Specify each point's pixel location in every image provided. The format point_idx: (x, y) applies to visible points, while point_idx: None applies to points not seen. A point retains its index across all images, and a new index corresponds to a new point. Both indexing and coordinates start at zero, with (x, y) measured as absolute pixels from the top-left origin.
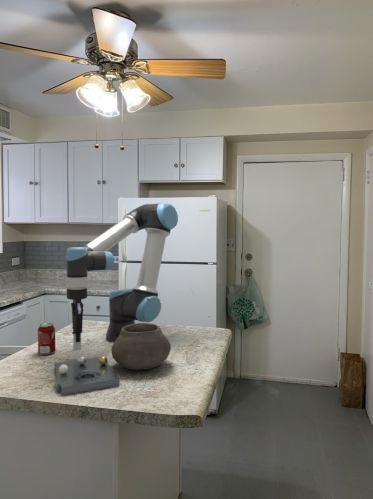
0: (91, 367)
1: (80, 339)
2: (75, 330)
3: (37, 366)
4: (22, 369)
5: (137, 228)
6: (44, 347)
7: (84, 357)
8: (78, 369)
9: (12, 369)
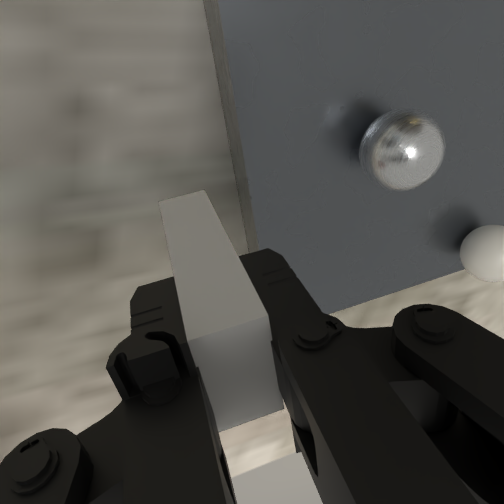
0: (471, 55)
1: (234, 258)
2: (470, 429)
3: None
4: None
5: None
6: None
7: (439, 133)
8: (457, 158)
9: None
